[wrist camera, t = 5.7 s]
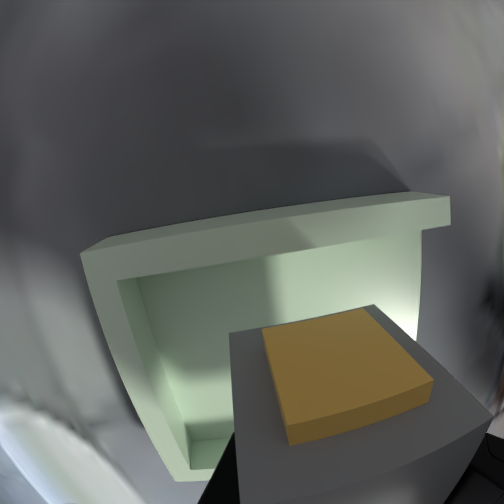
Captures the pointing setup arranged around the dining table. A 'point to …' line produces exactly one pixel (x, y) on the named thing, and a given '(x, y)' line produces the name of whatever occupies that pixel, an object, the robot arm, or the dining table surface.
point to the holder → (244, 300)
